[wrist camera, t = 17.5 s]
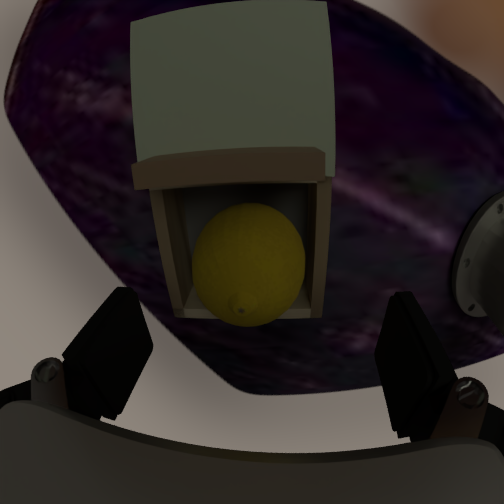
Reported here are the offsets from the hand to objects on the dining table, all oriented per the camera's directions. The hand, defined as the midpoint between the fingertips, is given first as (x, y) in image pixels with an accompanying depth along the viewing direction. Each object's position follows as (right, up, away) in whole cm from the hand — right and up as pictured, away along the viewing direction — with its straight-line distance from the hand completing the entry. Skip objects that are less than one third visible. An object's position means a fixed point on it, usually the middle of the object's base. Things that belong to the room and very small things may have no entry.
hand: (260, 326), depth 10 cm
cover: (-1, +10, +1) cm, 10 cm away
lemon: (0, +4, +8) cm, 9 cm away
